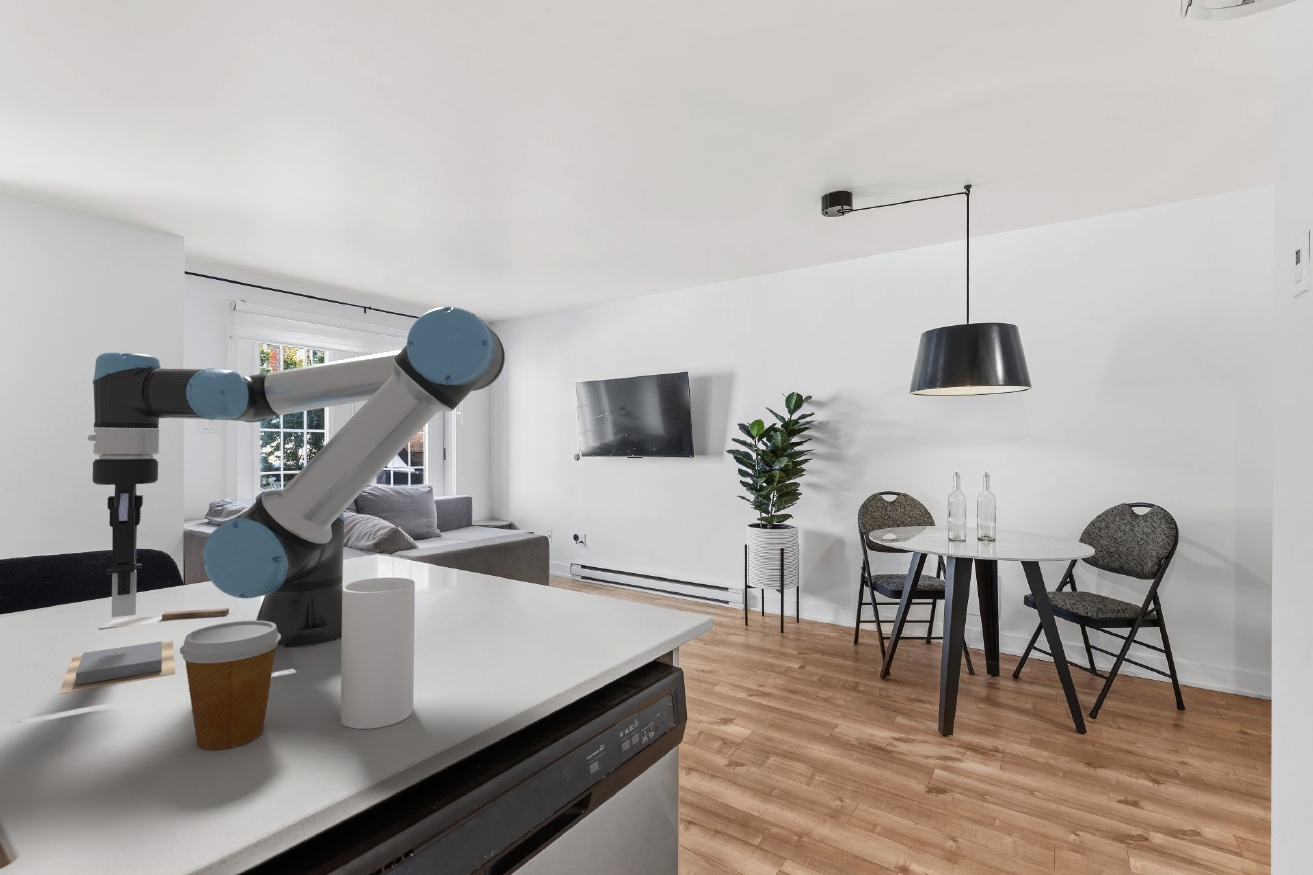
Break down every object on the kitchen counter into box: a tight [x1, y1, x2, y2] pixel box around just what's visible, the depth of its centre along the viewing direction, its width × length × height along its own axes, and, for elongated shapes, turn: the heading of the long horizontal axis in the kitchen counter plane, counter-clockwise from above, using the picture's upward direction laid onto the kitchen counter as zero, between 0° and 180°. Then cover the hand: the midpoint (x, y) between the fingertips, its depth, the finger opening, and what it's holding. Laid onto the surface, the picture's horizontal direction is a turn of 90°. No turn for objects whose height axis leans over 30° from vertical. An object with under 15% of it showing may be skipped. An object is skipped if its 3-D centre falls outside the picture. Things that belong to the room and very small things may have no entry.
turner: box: [98, 607, 230, 631], centre depth 117 cm, size 18×6×2 cm, turn 108°
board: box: [58, 640, 176, 695], centre depth 93 cm, size 18×12×1 cm, turn 38°
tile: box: [76, 641, 163, 685], centre depth 91 cm, size 2×9×10 cm
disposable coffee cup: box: [179, 620, 281, 751], centre depth 72 cm, size 10×10×12 cm
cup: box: [340, 577, 416, 730], centre depth 78 cm, size 8×8×16 cm
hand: (123, 614), depth 95 cm, fingers closed
